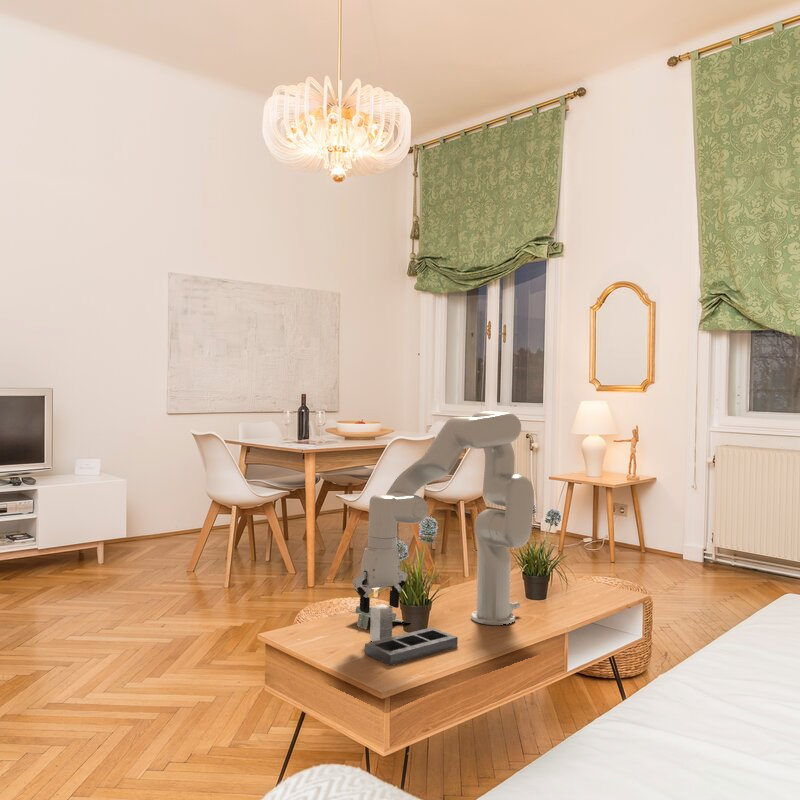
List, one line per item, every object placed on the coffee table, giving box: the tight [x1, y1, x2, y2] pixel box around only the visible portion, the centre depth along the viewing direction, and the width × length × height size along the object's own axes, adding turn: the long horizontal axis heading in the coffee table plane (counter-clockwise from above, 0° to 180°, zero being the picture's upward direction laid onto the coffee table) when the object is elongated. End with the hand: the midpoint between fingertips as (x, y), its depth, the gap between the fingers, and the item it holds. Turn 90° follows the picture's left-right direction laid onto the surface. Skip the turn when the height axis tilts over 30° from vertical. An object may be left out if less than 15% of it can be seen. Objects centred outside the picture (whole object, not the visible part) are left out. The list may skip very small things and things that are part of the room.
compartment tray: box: [364, 627, 458, 667], centre depth 181 cm, size 22×10×2 cm, turn 130°
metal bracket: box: [349, 605, 403, 630], centre depth 203 cm, size 14×6×15 cm
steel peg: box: [369, 603, 393, 642], centre depth 187 cm, size 4×4×9 cm
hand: (379, 609), depth 187 cm, fingers open, 9 cm apart
